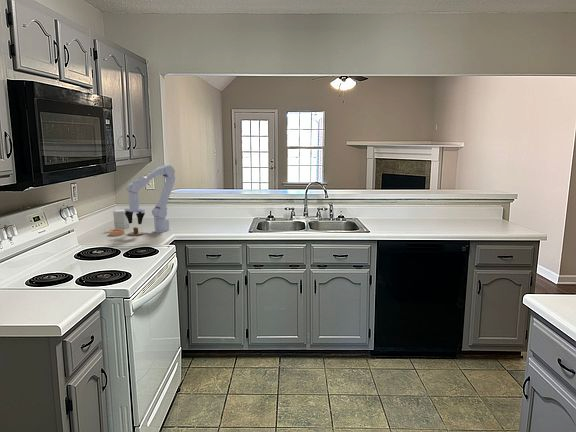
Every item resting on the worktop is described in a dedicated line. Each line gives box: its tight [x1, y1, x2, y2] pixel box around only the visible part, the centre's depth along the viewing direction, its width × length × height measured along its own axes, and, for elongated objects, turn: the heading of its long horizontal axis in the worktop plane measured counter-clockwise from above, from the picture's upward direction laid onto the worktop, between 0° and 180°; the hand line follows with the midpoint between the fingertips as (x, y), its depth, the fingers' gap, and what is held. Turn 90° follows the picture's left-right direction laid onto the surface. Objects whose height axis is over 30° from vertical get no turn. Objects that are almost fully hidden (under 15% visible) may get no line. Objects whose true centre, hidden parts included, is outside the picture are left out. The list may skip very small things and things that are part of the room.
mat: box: [125, 232, 150, 238], centre depth 284 cm, size 11×11×1 cm
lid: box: [127, 226, 145, 237], centre depth 283 cm, size 10×10×4 cm
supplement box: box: [112, 209, 130, 230], centre depth 305 cm, size 7×7×13 cm
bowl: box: [108, 228, 126, 237], centre depth 284 cm, size 9×9×3 cm
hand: (135, 223), depth 282 cm, fingers open, 7 cm apart
